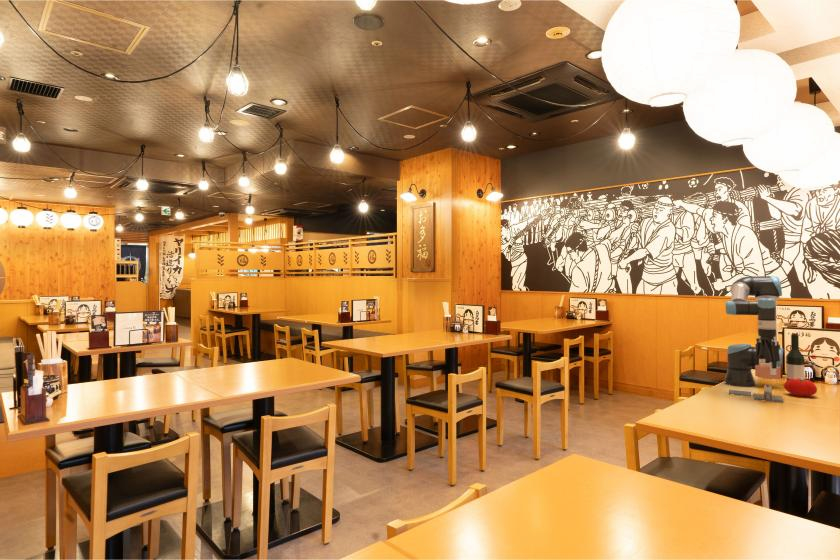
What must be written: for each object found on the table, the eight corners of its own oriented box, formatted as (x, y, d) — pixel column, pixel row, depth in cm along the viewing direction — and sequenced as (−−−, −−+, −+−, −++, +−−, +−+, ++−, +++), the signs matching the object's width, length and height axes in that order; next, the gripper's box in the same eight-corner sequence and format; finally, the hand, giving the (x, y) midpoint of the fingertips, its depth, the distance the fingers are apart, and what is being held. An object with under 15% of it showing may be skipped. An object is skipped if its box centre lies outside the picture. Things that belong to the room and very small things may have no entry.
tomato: (819, 395, 258) (819, 378, 258) (815, 399, 249) (815, 382, 249) (787, 391, 268) (787, 375, 268) (782, 395, 259) (782, 378, 259)
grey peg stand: (753, 395, 260) (753, 381, 260) (781, 397, 253) (781, 384, 253) (754, 399, 249) (754, 386, 249) (783, 402, 243) (783, 388, 243)
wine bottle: (808, 387, 278) (807, 334, 278) (793, 387, 278) (792, 334, 278) (797, 384, 286) (796, 332, 286) (782, 384, 286) (782, 332, 286)
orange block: (770, 375, 255) (770, 362, 255) (780, 378, 248) (780, 364, 248) (755, 375, 256) (755, 362, 256) (764, 378, 248) (764, 364, 248)
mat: (728, 390, 270) (728, 389, 270) (750, 392, 265) (750, 391, 265) (728, 394, 262) (728, 393, 262) (751, 396, 257) (751, 395, 257)
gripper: (747, 326, 262) (747, 369, 262) (772, 330, 241) (773, 377, 242) (761, 326, 262) (762, 369, 262) (788, 330, 241) (789, 377, 241)
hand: (767, 373), depth 252 cm, fingers closed on orange block, 8 cm apart
